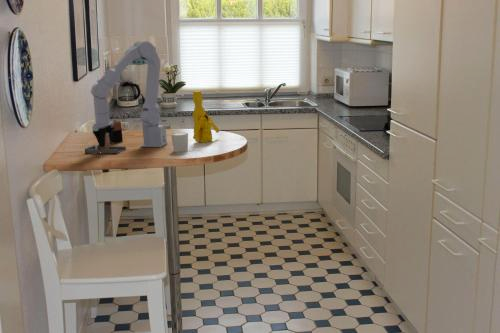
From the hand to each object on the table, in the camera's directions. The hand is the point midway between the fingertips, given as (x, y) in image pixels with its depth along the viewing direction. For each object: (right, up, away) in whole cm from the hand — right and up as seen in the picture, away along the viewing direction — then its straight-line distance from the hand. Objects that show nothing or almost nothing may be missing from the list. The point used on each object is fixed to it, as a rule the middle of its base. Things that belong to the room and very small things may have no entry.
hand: (105, 145), depth 263 cm
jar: (0, -2, 0) cm, 2 cm away
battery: (-1, +2, +23) cm, 23 cm away
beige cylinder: (+32, -2, -4) cm, 32 cm away
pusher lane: (+1, -3, 0) cm, 3 cm away
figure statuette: (+40, +2, +14) cm, 42 cm away
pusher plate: (-2, -3, +1) cm, 4 cm away
